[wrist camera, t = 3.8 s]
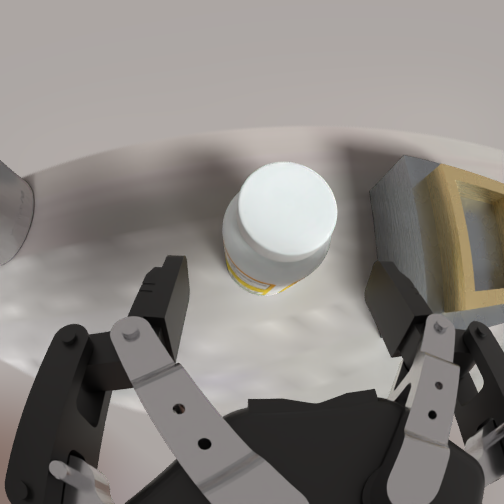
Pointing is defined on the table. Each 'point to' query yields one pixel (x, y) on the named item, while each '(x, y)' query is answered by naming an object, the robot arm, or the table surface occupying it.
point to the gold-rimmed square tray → (444, 237)
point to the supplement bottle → (278, 227)
